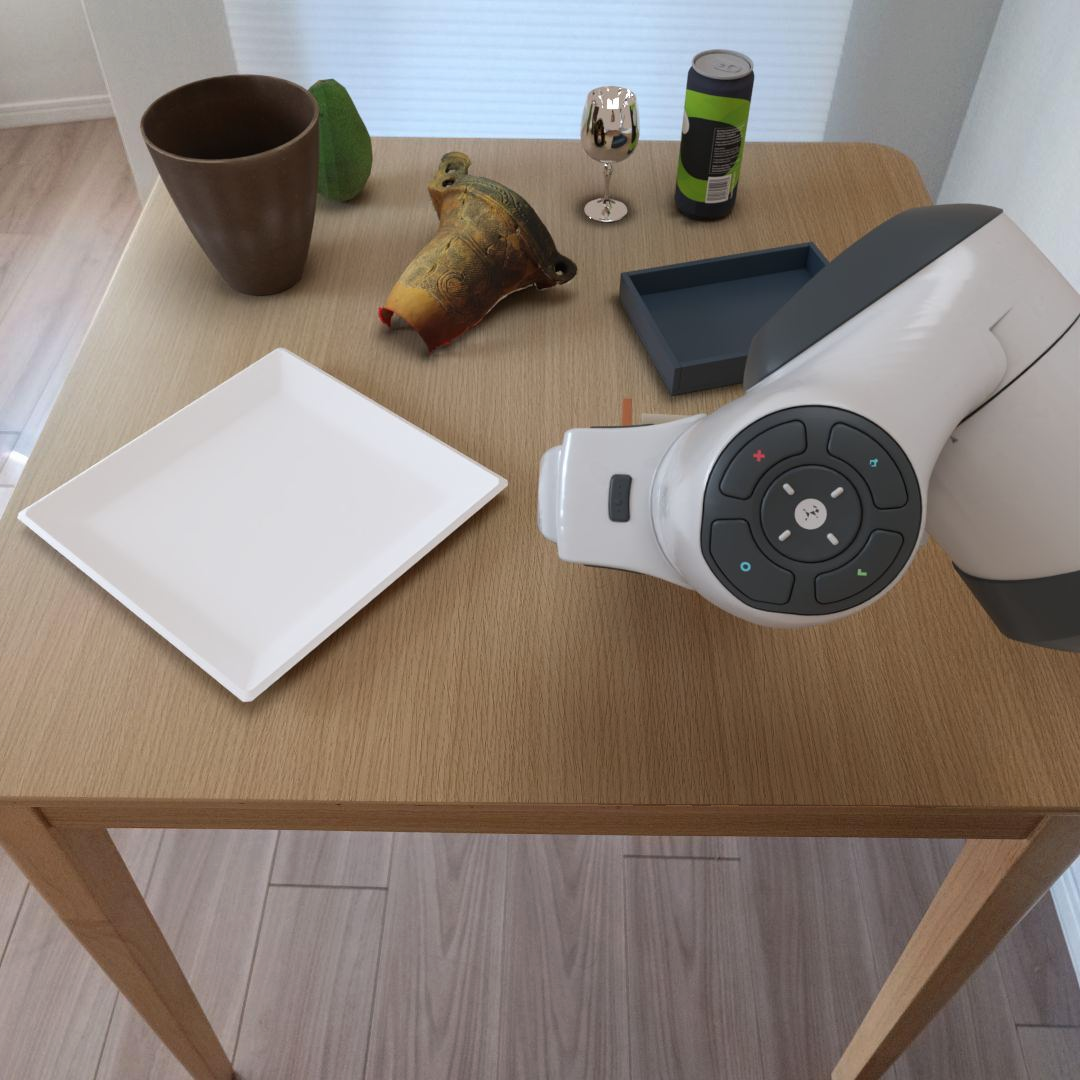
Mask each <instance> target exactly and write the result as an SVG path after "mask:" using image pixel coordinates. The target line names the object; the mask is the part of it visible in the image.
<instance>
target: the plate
mask: <svg viewBox="0 0 1080 1080" xmlns="http://www.w3.org/2000/svg"><path fill="white" fill-rule="evenodd" d="M508 486H509V482H508V480H507V479H506V478H504V477H503V476H501V475H500V474H497V473H496V472H495V471H492V469H490V468H487V467H486V466H485V465H483V464H481V463H479V462H478V461H476V460H474V459H473V458H471V457H470V456H467V454H464V453H462V452H460V451H459V450H457V449H456V448H454V447H453V446H450V445H449V444H447V443H445V442H443V441H442V440H440V439H439V438H437V437H435V436H434V435H432V434H431V433H429V432H427V431H425V430H424V429H422V428H421V427H418V426H417V425H415V424H413V423H412V422H410V421H408V420H406V419H405V418H403V417H401V416H400V415H398V414H396V413H395V412H393V411H392V410H390V409H389V408H387V407H385V406H383V405H381V404H380V403H378V402H376V401H375V400H373V399H371V398H370V397H368V396H366V395H365V394H363V393H362V392H359V390H356V389H354V388H353V387H352V386H349V385H348V384H346V383H345V382H343V381H341V380H340V379H338V378H336V377H335V376H333V375H331V374H329V373H328V372H326V371H324V370H322V369H321V368H320V367H317V366H316V365H314V364H313V363H311V362H309V361H307V360H306V359H304V358H302V357H301V356H300V355H297V354H296V353H294V352H292V351H291V350H289V349H287V348H286V347H277V348H275V349H274V350H272V351H271V352H269V353H267V354H266V355H264V356H263V357H261V358H259V359H258V360H257V361H255V362H253V363H252V364H250V365H248V366H247V367H246V368H244V369H242V370H240V371H239V372H237V373H236V374H234V375H233V376H231V377H230V378H228V379H226V380H225V381H224V382H222V383H220V384H218V385H217V386H215V387H214V388H212V389H211V390H209V391H208V392H206V393H205V394H202V396H200V397H198V398H197V399H195V400H193V401H192V402H190V403H188V405H186V406H184V407H183V408H181V409H180V410H178V411H176V412H175V413H173V414H172V415H170V416H168V417H166V418H165V419H163V420H162V421H160V422H159V423H157V424H156V425H154V426H153V427H151V428H149V429H148V430H146V431H145V432H143V433H142V434H140V435H139V436H137V437H136V438H134V439H132V440H131V441H129V442H128V443H126V444H124V445H123V446H121V447H120V448H118V449H116V450H115V451H113V452H112V453H110V454H109V455H107V456H105V457H104V458H103V459H101V460H99V461H98V462H96V463H95V464H93V465H92V466H90V467H88V468H86V469H85V470H83V471H82V472H81V473H79V474H77V475H76V476H74V477H72V478H71V479H70V480H67V481H66V482H64V483H63V484H61V485H60V486H58V487H56V488H55V489H54V490H52V491H50V492H49V493H48V494H46V495H44V496H42V497H41V498H39V499H37V500H36V501H35V502H33V503H32V504H30V505H29V506H27V507H25V508H24V509H22V510H20V511H19V512H18V514H17V517H16V518H17V520H18V521H20V522H21V523H23V524H24V525H25V526H26V527H27V528H29V529H30V530H31V531H32V532H34V533H35V534H36V535H37V536H39V537H40V538H41V539H42V540H44V541H45V542H46V543H47V544H49V546H51V547H52V548H53V549H54V550H56V551H57V552H58V553H60V554H61V555H62V556H63V557H64V558H66V559H67V560H68V561H69V562H71V563H72V564H73V565H74V566H76V567H77V569H79V570H80V571H82V572H83V573H84V574H85V575H87V576H88V577H89V578H90V579H92V580H93V582H95V583H96V584H97V585H99V586H100V587H101V588H102V589H104V590H105V591H106V592H107V593H108V594H110V595H111V596H113V598H114V599H116V600H118V602H119V603H121V604H122V605H123V606H124V607H125V608H127V609H128V610H130V611H131V612H132V613H133V614H134V615H135V616H137V617H138V618H139V619H141V620H142V622H144V623H145V624H146V625H148V626H149V627H150V628H152V630H154V631H155V632H156V633H158V634H159V635H160V636H161V637H163V639H165V640H166V641H167V642H169V643H170V644H171V645H172V646H174V647H175V648H176V649H178V651H180V652H181V653H182V654H183V655H185V656H186V657H187V658H188V659H190V660H191V661H192V662H193V663H195V665H197V666H198V667H200V668H201V669H202V670H203V671H204V672H205V673H206V674H208V675H209V676H211V678H213V679H214V680H215V681H217V682H218V683H219V684H220V685H222V687H224V688H225V689H226V690H227V691H229V692H230V693H232V694H233V695H234V696H235V697H236V698H237V699H238V700H240V701H241V702H242V703H248V702H253V701H254V700H255V699H256V698H258V697H259V696H260V695H261V694H262V693H263V692H264V691H266V690H267V689H268V688H270V687H271V686H272V685H273V684H274V683H275V682H277V680H280V678H281V677H283V676H284V675H285V674H286V673H287V672H288V671H289V670H291V669H292V668H293V667H294V666H295V665H297V664H298V663H299V662H300V661H301V660H303V659H304V658H305V657H306V656H307V655H309V653H311V652H312V651H313V650H314V649H316V648H317V647H318V646H319V645H321V644H322V643H323V642H324V641H325V640H326V639H327V638H329V637H330V636H331V635H332V634H333V633H335V632H336V631H337V630H338V629H339V628H340V627H342V626H343V625H344V624H346V622H348V621H349V620H350V619H351V618H352V617H354V616H355V615H356V614H357V613H358V612H360V611H361V610H362V609H363V608H364V607H366V606H367V605H368V604H369V603H370V602H371V601H373V600H374V599H375V598H376V597H377V596H379V595H380V594H381V593H382V592H383V591H384V590H386V589H387V588H388V587H389V586H390V585H392V584H394V582H395V581H396V580H398V579H399V578H400V577H401V576H402V575H404V573H406V572H407V571H409V570H410V569H411V568H412V567H413V566H414V565H415V564H417V563H418V562H419V561H420V560H421V559H422V558H423V557H425V556H426V555H427V554H428V553H430V552H431V551H433V549H435V548H436V547H437V546H438V545H439V544H440V543H442V542H443V541H444V540H445V539H446V538H448V537H449V536H450V535H451V534H452V533H453V532H455V531H456V530H457V529H458V528H459V527H460V526H462V525H463V524H464V523H465V522H467V521H468V520H469V519H470V518H471V517H472V516H474V514H476V513H477V512H478V511H480V510H481V509H482V508H483V507H484V506H485V505H487V504H488V503H489V502H490V501H491V500H493V499H494V498H495V497H496V496H497V495H499V494H500V493H501V492H502V491H504V489H505V488H507V487H508Z"/></svg>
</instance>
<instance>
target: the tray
mask: <svg viewBox="0 0 1080 1080" xmlns="http://www.w3.org/2000/svg"><path fill="white" fill-rule="evenodd" d="M828 263H830V261H829V260H828V259H827V257H826V256H825V255H824V253H822V252H821V250H820V249H819V247H818V246H817V245H816V243H814V241H807V242H802V243H796V244H788V245H783V246H777V247H771V248H770V247H769V248H764V249H759V250H753V251H746V252H739V253H735V254H734V253H733V254H728V255H722V256H715V257H710V258H709V257H708V258H704V259H697V260H691V261H685V262H679V263H673V264H667V265H666V264H665V265H660V266H655V267H648V268H643V269H636V270H630V271H624V272H620V279H619V291H618V292H619V293H618V301H619V303H620V305H621V307H622V309H623V311H624V312H625V314H626V316H627V317H628V319H629V321H630V323H631V325H632V327H633V328H634V330H635V332H636V334H637V335H638V338H639V339H640V341H641V343H642V344H643V346H644V349H645V350H646V352H647V354H648V355H649V357H650V359H651V361H652V363H653V365H654V367H655V368H656V370H657V372H658V374H659V376H660V378H661V379H662V381H663V383H664V384H665V387H666V388H667V390H668V392H669V393H670V396H678V395H684V394H688V393H693V392H694V393H695V392H698V391H705V390H710V389H715V388H720V387H725V386H731V385H737V384H741V383H742V384H743V380H744V371H745V366H746V361H747V357H748V353H749V349H750V346H751V342H752V339H753V337H754V336H755V335H756V334H757V332H758V331H759V330H760V329H761V328H762V327H763V326H764V325H765V324H766V323H767V321H768V320H769V319H770V318H771V317H772V316H773V315H774V314H775V313H776V312H777V311H778V310H779V309H780V308H781V307H782V306H783V305H784V304H785V303H786V302H788V301H789V300H790V299H791V298H792V297H793V296H794V295H795V294H796V293H797V292H798V291H799V290H800V289H801V288H802V287H803V286H804V285H805V284H806V283H807V282H808V281H810V280H811V279H812V278H813V277H814V276H815V275H816V274H817V273H818V272H819V271H820V270H822V269H823V268H824V267H825V266H826V265H827V264H828Z"/></svg>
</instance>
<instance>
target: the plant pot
mask: <svg viewBox="0 0 1080 1080" xmlns="http://www.w3.org/2000/svg"><path fill="white" fill-rule="evenodd" d="M139 131H140V134H141V137H142V140H143V141H144V144H145V146H146V148H147V151H148V152H149V155H150V157H151V159H152V161H153V163H154V166H155V167H156V170H157V172H158V174H159V177H160V178H161V181H162V182H163V185H164V186H165V189H166V190H167V192H168V194H169V196H170V198H171V200H172V202H173V204H174V206H175V207H176V210H177V211H178V212H179V214H180V216H181V218H182V220H183V221H184V223H185V225H186V226H187V228H188V230H189V231H190V233H191V234H192V236H193V238H194V239H195V241H196V242H197V244H198V245H199V247H200V248H201V250H202V251H203V253H204V254H205V256H206V257H207V259H209V261H210V262H211V264H212V266H214V268H215V270H216V271H217V272H218V273H219V274H220V276H221V277H222V278H223V279H224V281H225V283H227V285H228V286H229V287H230V288H231V289H233V290H235V291H236V292H239V293H242V294H244V295H250V296H269V295H273V294H277V293H281V292H283V291H285V290H287V289H289V288H291V287H292V286H294V285H296V283H298V282H299V280H300V279H301V278H302V276H303V275H304V274H303V273H304V271H305V266H306V262H307V259H308V255H309V250H310V245H311V240H312V235H313V229H314V223H315V216H316V209H317V199H318V198H317V197H318V194H317V189H318V174H319V108H318V104H317V101H316V99H315V98H314V97H313V95H312V94H311V93H310V92H309V91H308V89H306V88H305V87H303V86H301V85H300V84H298V83H295V82H293V81H291V80H288V79H286V78H281V77H277V76H271V75H264V74H253V73H252V74H250V73H249V74H248V73H246V74H243V73H242V74H226V75H225V74H224V75H219V76H211V77H207V78H203V79H198V80H195V81H192V82H189V83H185V84H183V85H180V86H178V87H176V88H173V89H172V90H170V91H167V92H165V93H164V94H163V95H161V96H159V97H158V98H156V99H155V100H154V101H153V102H152V103H151V104H150V105H149V106H148V107H147V108H146V110H144V112H143V114H142V116H141V119H140V124H139Z"/></svg>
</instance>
